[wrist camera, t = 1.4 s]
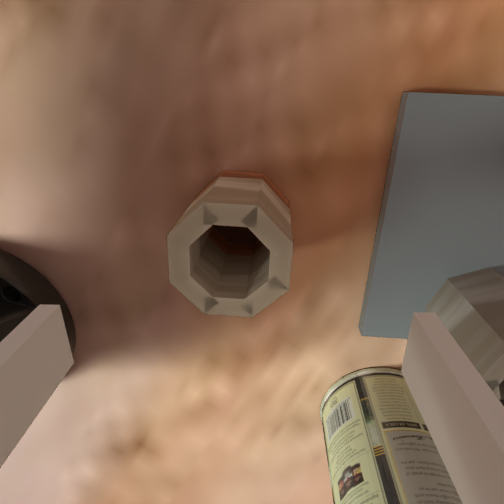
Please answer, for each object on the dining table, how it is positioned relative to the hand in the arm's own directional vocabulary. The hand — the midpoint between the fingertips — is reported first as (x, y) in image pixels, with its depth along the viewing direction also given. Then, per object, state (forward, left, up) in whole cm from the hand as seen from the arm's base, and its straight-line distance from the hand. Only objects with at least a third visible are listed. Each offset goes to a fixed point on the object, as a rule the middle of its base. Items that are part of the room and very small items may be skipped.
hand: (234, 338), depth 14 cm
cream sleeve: (-1, 0, -15) cm, 15 cm away
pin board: (+17, 0, -15) cm, 23 cm away
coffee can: (+12, -18, -15) cm, 26 cm away
